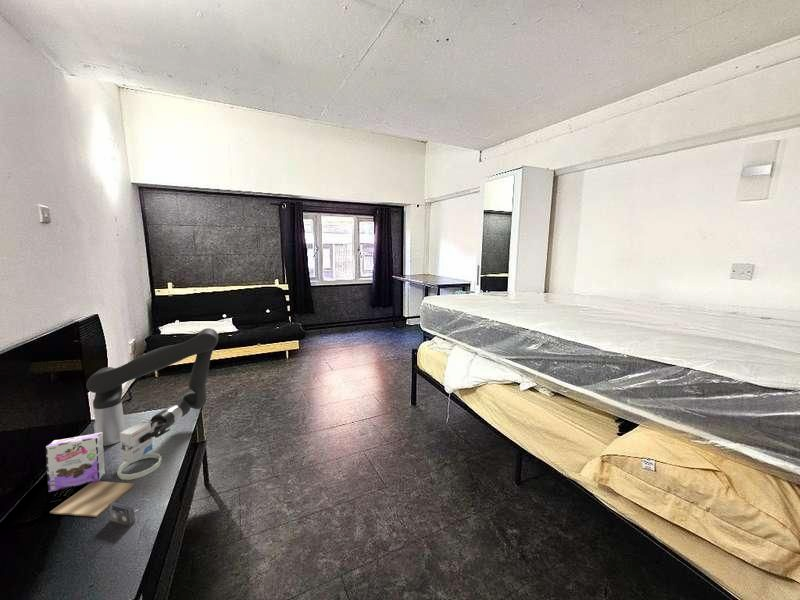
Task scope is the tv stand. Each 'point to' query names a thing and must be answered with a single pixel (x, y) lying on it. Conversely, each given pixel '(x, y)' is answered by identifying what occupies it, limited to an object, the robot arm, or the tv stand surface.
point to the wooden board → (92, 499)
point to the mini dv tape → (121, 513)
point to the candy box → (75, 461)
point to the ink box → (135, 442)
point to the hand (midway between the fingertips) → (133, 440)
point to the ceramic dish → (143, 473)
